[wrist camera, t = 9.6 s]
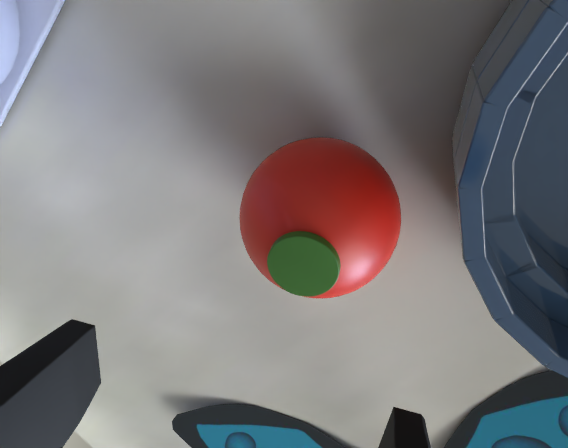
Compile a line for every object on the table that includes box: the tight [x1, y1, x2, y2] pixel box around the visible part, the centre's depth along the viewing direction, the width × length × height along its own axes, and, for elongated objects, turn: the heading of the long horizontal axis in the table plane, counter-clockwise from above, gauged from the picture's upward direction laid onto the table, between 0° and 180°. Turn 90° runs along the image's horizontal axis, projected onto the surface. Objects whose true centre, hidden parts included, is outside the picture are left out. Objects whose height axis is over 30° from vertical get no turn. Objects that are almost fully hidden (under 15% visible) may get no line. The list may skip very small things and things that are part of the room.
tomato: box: [240, 137, 401, 298], centre depth 16 cm, size 5×5×5 cm
